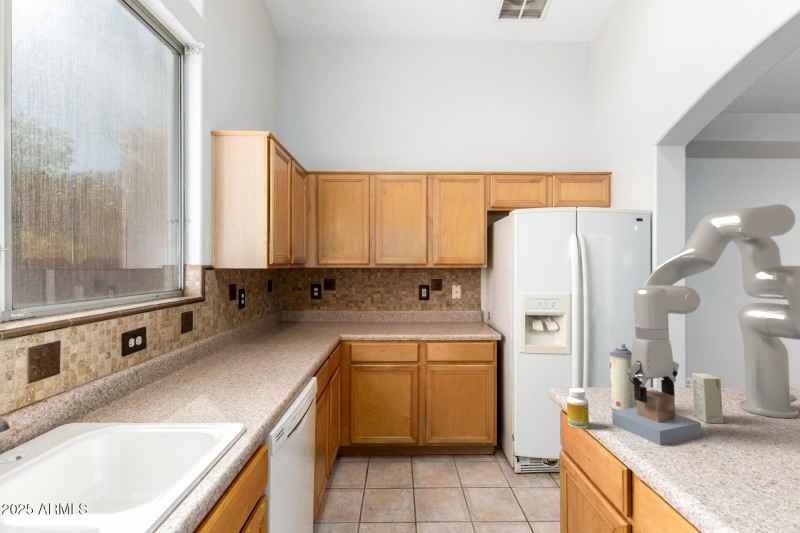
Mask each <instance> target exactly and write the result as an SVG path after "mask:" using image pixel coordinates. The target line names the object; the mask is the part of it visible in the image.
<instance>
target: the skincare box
mask: <svg viewBox="0 0 800 533" xmlns="http://www.w3.org/2000/svg"><path fill="white" fill-rule="evenodd" d="M691 374H692V375H691V376H692V396H693V415H694V416H695V417H697V418H698V419H699V420H701V421H703V422H704V423H711V424H712V423H714V424H723V423H724V418H723V417H724V416H723V403H722V402H723V401H722V400H723V399H722V386H721V384H722V383H721V382H722V381H721V378H720V377H717V376H715V375H712V374H711V373H705V372H704V373H698V372H697V373H696V372H694V373H693V372H692V373H691Z"/></svg>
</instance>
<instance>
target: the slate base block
mask: <svg viewBox="0 0 800 533" xmlns="http://www.w3.org/2000/svg"><path fill="white" fill-rule="evenodd" d="M611 414H612V415H611V418H612V420H611V421H612V425H613V426H616V427H617V428H619V429H623V430H625V431H626V432H629V433H631V434H634V435H636V436H638V437H640V438H643V439H645V440H647V441H649V442H652V443H654V444H656V445H658V446H664V445H667V444H668V445H669V444H672V443H677V442H682V441H688V440H690V439H691V438H692V439H695V438H699V437H700V436H701V437H702V423H701V422H700V421H698V420H695V419H692V418H689V417H686V416H683V415H680V414H677V413H675V419H674V420H669V421H664V422H659V423H658V422H655V421H653V420H650V419H647V418H645V417H642V416H640V415H637V407H636V408H631V409H625V410H619V411H611ZM692 439H691V440H692Z"/></svg>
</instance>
